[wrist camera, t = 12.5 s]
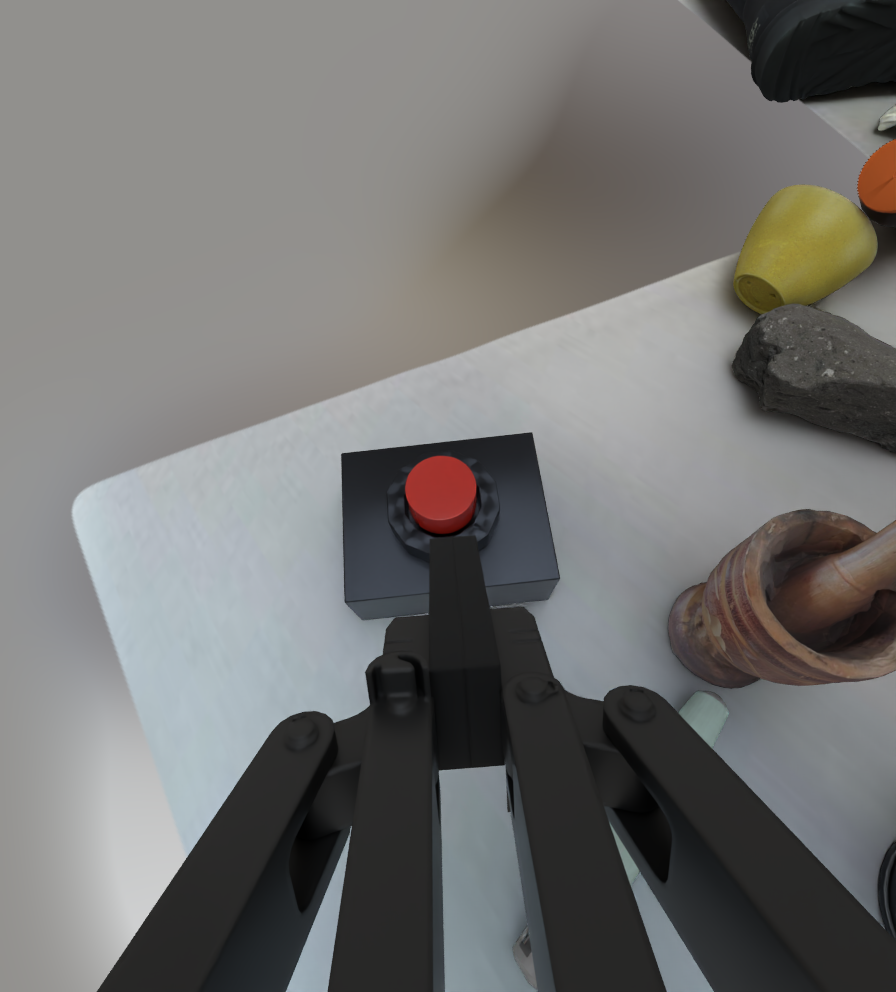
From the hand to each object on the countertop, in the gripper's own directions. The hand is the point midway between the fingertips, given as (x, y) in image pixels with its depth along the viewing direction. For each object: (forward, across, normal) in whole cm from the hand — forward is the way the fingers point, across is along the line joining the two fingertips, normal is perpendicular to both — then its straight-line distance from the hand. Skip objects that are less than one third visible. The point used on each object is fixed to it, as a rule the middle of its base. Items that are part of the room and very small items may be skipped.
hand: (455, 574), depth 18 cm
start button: (+17, 0, -4) cm, 18 cm away
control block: (+23, 0, -9) cm, 25 cm away
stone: (+31, +35, -1) cm, 47 cm away
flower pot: (+34, +28, +7) cm, 45 cm away
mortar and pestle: (+18, +20, -15) cm, 30 cm away
